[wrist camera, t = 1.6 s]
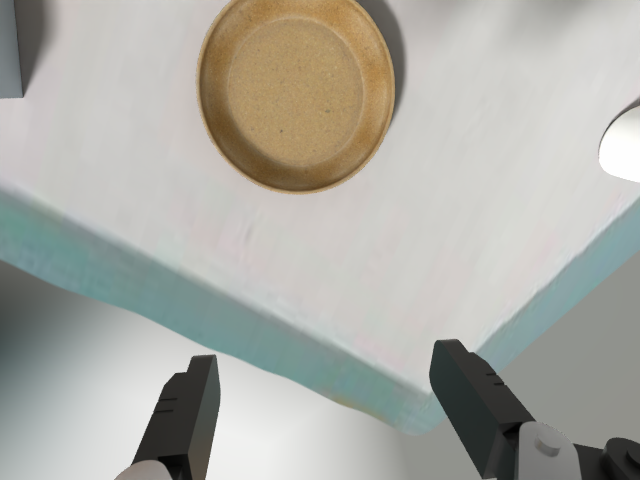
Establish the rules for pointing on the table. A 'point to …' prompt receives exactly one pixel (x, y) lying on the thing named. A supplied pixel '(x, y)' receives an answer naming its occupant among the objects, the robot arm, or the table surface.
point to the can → (622, 146)
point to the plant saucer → (295, 91)
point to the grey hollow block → (9, 53)
